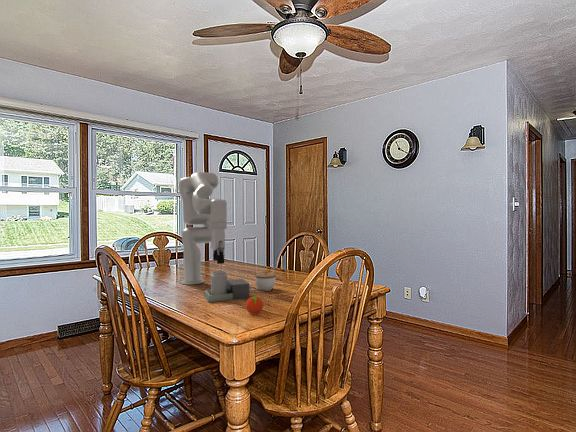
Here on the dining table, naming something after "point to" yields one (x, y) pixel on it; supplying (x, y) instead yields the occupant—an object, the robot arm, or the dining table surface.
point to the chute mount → (230, 291)
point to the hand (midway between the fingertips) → (218, 261)
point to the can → (218, 283)
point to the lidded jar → (265, 281)
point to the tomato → (254, 305)
